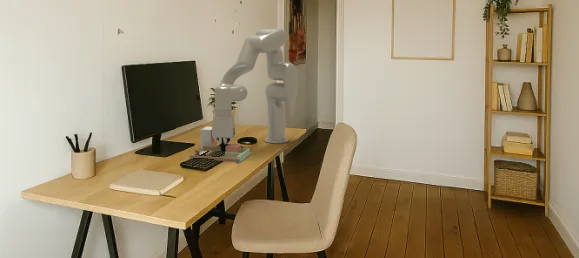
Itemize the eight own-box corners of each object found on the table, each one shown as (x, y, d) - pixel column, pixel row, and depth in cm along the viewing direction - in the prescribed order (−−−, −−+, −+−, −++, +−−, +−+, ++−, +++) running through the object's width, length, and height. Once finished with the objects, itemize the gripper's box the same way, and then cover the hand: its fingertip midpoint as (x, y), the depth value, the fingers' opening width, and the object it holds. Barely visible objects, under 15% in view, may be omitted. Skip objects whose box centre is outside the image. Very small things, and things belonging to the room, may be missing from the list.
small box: (211, 150, 211) (210, 129, 209) (200, 150, 212) (200, 129, 210) (217, 146, 218) (216, 126, 216) (207, 146, 219) (206, 126, 217)
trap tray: (203, 151, 209) (203, 145, 209) (250, 154, 204) (250, 148, 203) (189, 159, 195) (189, 152, 194) (238, 163, 189) (238, 156, 189)
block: (230, 154, 203) (230, 143, 202) (241, 154, 201) (241, 144, 200) (225, 156, 197) (225, 146, 196) (237, 157, 196) (236, 147, 195)
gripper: (205, 113, 196) (206, 152, 199) (235, 115, 192) (236, 154, 196) (212, 110, 203) (212, 148, 206) (241, 112, 199) (241, 150, 203)
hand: (224, 151), depth 201 cm, fingers closed
